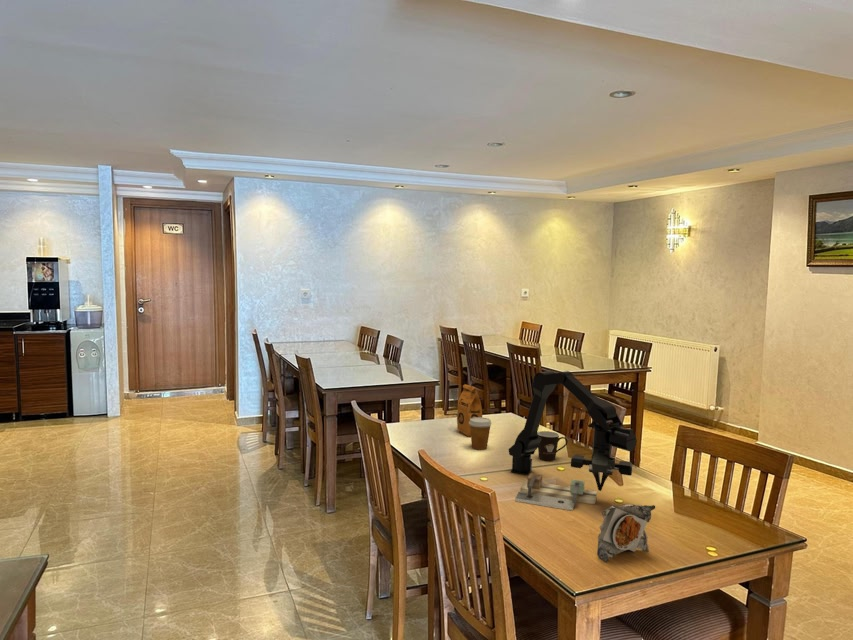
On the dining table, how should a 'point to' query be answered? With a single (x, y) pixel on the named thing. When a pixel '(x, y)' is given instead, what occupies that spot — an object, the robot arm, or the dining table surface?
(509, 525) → the dining table surface
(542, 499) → the bolt hole plate
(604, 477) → the robot arm
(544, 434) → the coffee mug
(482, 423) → the disposable coffee cup
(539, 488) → the board
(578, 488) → the slider leg
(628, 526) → the meal
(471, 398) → the coffee package
